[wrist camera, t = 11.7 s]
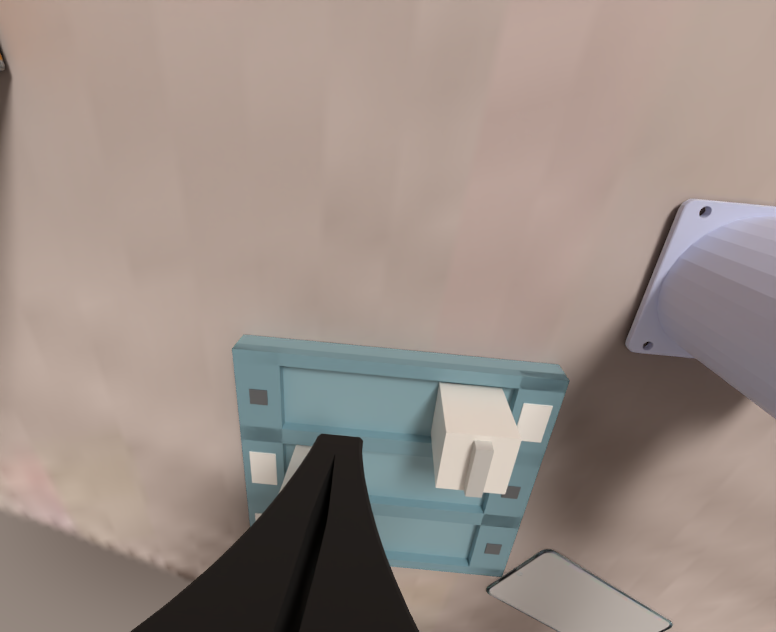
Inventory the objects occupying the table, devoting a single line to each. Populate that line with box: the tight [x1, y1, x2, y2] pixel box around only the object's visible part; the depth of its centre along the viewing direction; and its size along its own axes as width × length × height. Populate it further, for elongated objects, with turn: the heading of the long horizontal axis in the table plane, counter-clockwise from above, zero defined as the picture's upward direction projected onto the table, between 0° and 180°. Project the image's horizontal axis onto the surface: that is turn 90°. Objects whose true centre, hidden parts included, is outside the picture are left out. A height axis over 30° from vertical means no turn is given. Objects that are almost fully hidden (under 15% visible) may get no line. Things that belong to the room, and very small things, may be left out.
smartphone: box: [487, 549, 673, 632], centre depth 31 cm, size 7×1×15 cm
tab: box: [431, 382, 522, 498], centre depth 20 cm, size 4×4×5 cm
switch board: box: [232, 335, 569, 577], centre depth 25 cm, size 18×17×2 cm
